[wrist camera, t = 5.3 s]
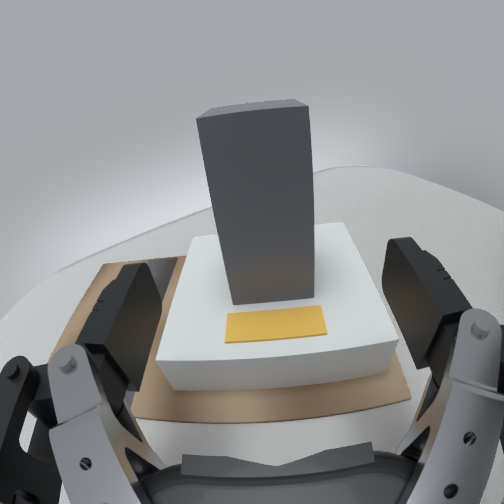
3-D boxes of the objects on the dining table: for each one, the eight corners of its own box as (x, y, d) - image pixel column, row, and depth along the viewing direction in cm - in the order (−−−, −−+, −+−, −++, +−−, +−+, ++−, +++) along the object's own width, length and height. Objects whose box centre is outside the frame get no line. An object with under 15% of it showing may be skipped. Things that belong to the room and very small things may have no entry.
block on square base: (341, 253, 24) (340, 94, 17) (386, 372, 14) (441, 122, 7) (201, 266, 25) (166, 113, 18) (173, 390, 15) (69, 162, 8)
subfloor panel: (346, 245, 26) (346, 239, 26) (408, 402, 13) (411, 397, 12) (105, 268, 28) (103, 263, 27) (37, 399, 14) (32, 394, 14)
